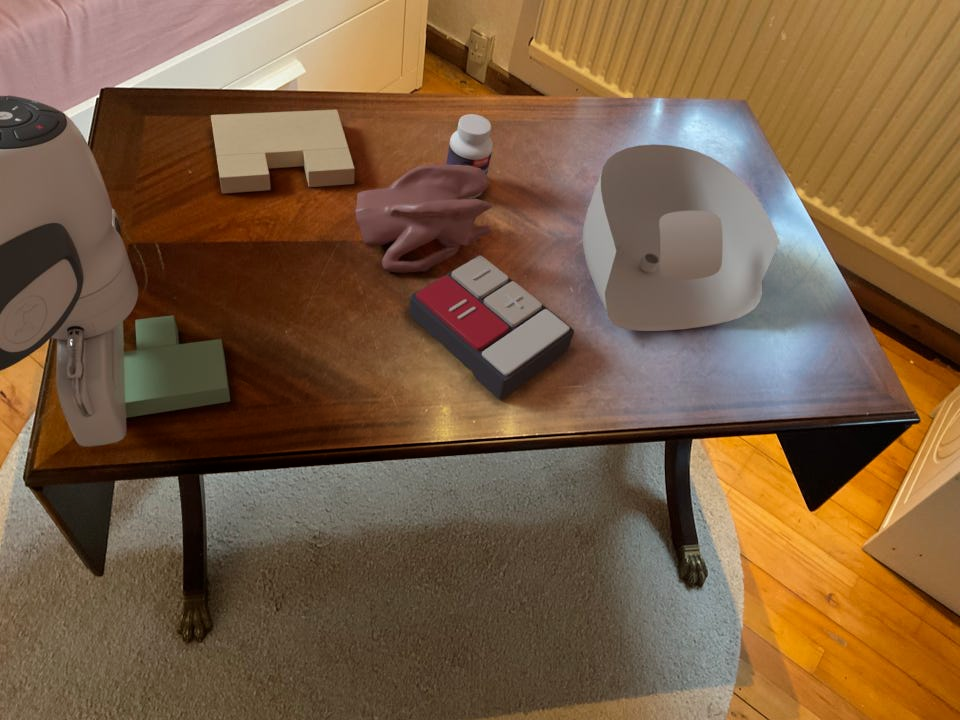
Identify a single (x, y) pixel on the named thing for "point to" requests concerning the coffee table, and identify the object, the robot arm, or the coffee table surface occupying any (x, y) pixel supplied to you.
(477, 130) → the pill bottle
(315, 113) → the beige pad
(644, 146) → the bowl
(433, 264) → the figurine
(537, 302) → the calculator
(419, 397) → the coffee table surface
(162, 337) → the green pad
